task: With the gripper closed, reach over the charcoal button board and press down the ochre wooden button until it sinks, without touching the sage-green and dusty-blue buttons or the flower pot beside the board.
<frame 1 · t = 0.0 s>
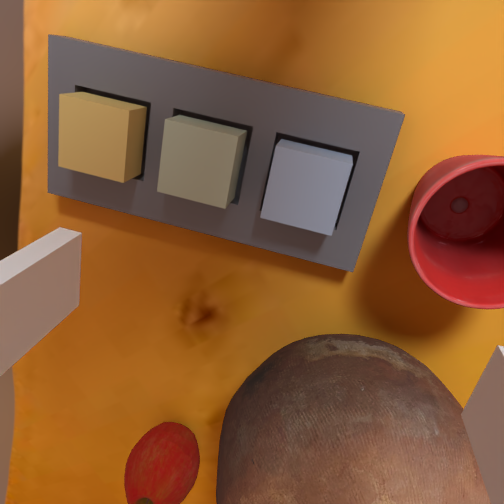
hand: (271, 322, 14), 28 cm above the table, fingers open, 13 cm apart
button board: (214, 152, 41), on the table
ochre button: (102, 136, 38), point 4 cm above the table, slide at 0.0 cm
sage button: (202, 160, 37), point 4 cm above the table, slide at 0.0 cm
blue button: (306, 186, 37), point 4 cm above the table, slide at 0.0 cm
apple: (176, 435, 56), on the table
pottery: (349, 390, 48), on the table
flower pot: (457, 199, 39), on the table
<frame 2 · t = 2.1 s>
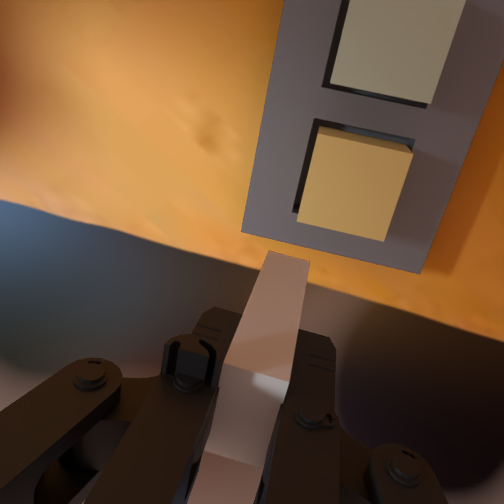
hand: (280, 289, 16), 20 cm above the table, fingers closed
button board: (385, 41, 30), on the table
ochre button: (351, 182, 30), point 4 cm above the table, slide at 0.0 cm
sage button: (392, 39, 27), point 4 cm above the table, slide at 0.0 cm
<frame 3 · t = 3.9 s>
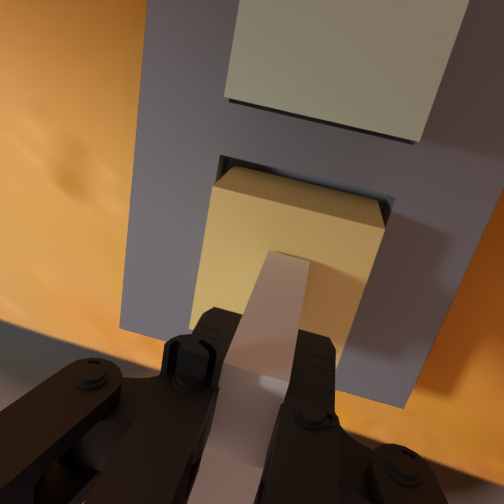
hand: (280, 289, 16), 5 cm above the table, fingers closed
button board: (345, 24, 17), on the table
ochre button: (283, 264, 18), point 3 cm above the table, slide at 0.5 cm, touching gripper
sage button: (347, 13, 14), point 4 cm above the table, slide at 0.0 cm
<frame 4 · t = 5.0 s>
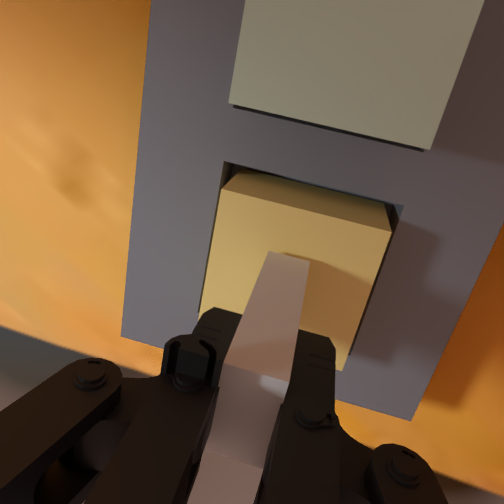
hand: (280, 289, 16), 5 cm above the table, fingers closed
button board: (353, 28, 17), on the table
ochre button: (290, 266, 18), point 3 cm above the table, slide at 1.2 cm
sage button: (355, 17, 13), point 4 cm above the table, slide at 0.0 cm
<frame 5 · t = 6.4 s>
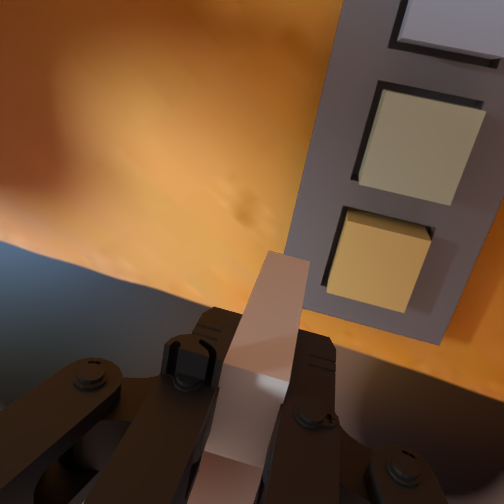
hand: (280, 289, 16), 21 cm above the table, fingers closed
button board: (409, 138, 33), on the table
ochre button: (375, 259, 34), point 3 cm above the table, slide at 1.2 cm
sage button: (415, 145, 30), point 4 cm above the table, slide at 0.0 cm
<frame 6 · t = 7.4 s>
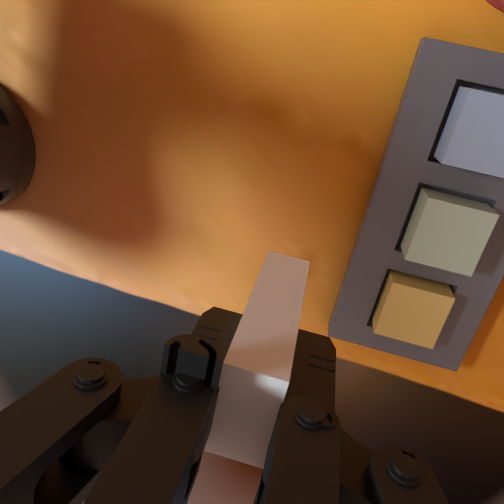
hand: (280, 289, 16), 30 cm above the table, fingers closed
button board: (438, 218, 44), on the table
ochre button: (410, 307, 45), point 3 cm above the table, slide at 1.2 cm
sage button: (446, 231, 41), point 4 cm above the table, slide at 0.0 cm
blue button: (486, 132, 37), point 4 cm above the table, slide at 0.0 cm
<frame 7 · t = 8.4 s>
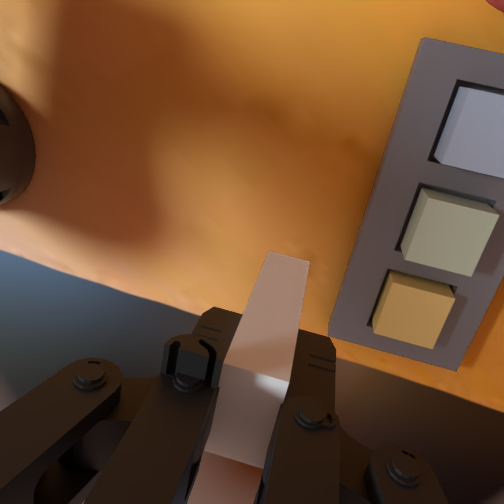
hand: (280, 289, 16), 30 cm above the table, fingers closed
button board: (438, 218, 44), on the table
ochre button: (410, 307, 45), point 3 cm above the table, slide at 1.2 cm
sage button: (446, 231, 41), point 4 cm above the table, slide at 0.0 cm
blue button: (486, 133, 37), point 4 cm above the table, slide at 0.0 cm
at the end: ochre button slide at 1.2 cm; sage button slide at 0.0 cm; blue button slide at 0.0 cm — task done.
